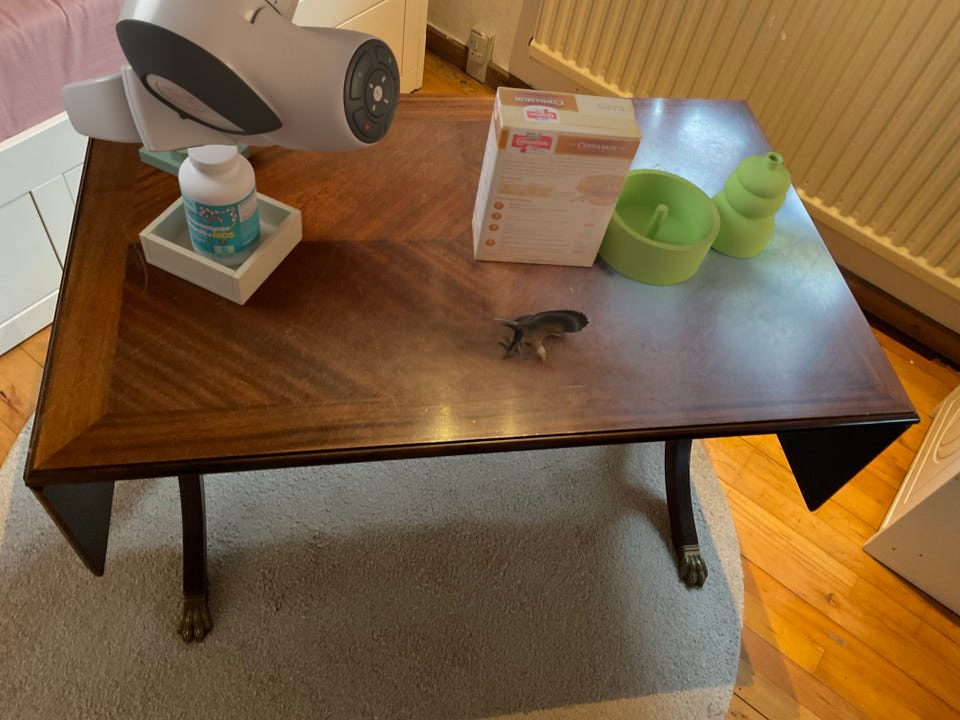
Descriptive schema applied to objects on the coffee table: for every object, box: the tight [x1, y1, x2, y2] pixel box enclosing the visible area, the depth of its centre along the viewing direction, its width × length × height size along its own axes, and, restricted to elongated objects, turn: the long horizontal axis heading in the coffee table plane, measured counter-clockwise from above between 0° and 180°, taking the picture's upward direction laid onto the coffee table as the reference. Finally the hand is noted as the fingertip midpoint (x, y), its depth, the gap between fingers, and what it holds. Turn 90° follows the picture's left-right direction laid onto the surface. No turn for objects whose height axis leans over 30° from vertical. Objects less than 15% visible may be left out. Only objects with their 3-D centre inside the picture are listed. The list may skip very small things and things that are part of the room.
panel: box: [138, 144, 251, 178], centre depth 91 cm, size 10×8×4 cm
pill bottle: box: [178, 145, 261, 266], centre depth 78 cm, size 8×7×14 cm
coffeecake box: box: [471, 86, 643, 268], centre depth 85 cm, size 15×7×20 cm, turn 93°
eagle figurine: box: [493, 309, 590, 362], centre depth 80 cm, size 8×7×9 cm
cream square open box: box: [138, 191, 303, 306], centre depth 82 cm, size 12×12×4 cm
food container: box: [597, 151, 792, 286], centre depth 92 cm, size 25×14×13 cm, turn 108°
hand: (142, 83), depth 68 cm, fingers open, 8 cm apart
